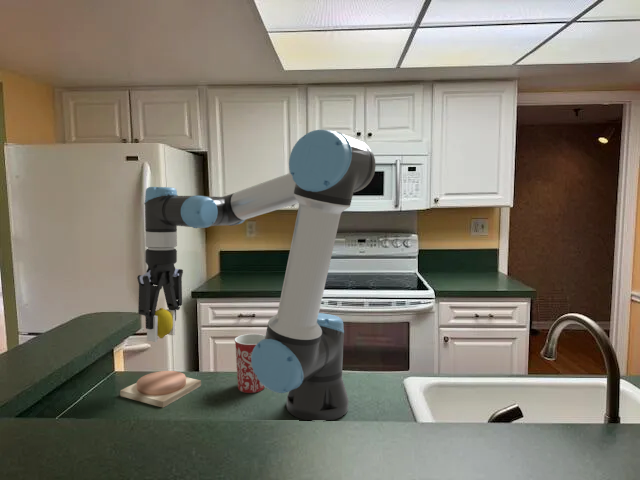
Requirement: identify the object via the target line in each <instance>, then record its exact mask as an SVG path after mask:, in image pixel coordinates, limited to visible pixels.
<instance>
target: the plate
mask: <svg viewBox="0 0 640 480" xmlns="http://www.w3.org/2000/svg"><path fill="white" fill-rule="evenodd" d="M201 386H202V380H201V379H196V378H191V377H187V376H186V374H185V373H183V372H180V371H176V370H160V371H154V372H151V373H147V374H145V375H143V376H141V377H140V378H138V379H137V381H136V383H133V384H131V385H128V386H126V387H124V388H122V389H120V392H119V396H120V397H121V398H127V399H130V400H134V401H137V402H141V403H143V404H144V403H145V404H148V405H152V406H155V407H160V408H163V409H164V408H165V407H167V406H169V405H171V404H172V403H174V402H176V401H177V400H179V399H181V398H182V397H184V396H187V394H189V393H191V392H193V391H195V390H196V389H198V388H200V387H201Z"/></svg>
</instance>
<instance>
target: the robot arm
mask: <svg viewBox="0 0 640 480" xmlns="http://www.w3.org/2000/svg"><path fill="white" fill-rule="evenodd" d="M376 165H377V164H376V158H375V155H374V153H373V151H372V150H371V148H370V147H369V146H368V145H367V144H366V142H364V141H362V140H360V139H357V138H355V137H351V136H349V135H347V134H344V133H342V132H339V131H335V130H328V129H316V130H311V131H309V132H308V133H305V134H304V135H303V136H302V137H300V138H299V139H298V140H297V141H296V143H295V144H294V146H293V147H292V149H291V152H290V154H289V159H288V170H289V173H287V174H283V175H280V176H278V177H275V178H272V179H269V180H267V181H264V182H263V181H262V182H260V183H258V184H256V185H252V186H250V187H247V188H244V189H241V190H238V191H236V192H233V193H230V194H227V195H225V196H209V195H208V196H206V195H178V191H177V188H175V187H169V186H168V187H167V186H148V187H147V188H146V189H145V193H144V194H145V195H144V221H145V222H144V225H145V226H144V229H145V231H144V233H145V236H144V237H145V243H144V244H145V247H146V250H145V260H144V261H145V263H146V265H147V269H146V272H145V273H144V274H142V275H141V274H138V275H137V277H136V278H137V281H138V310H137V311H138V313H137V314H138V315H139V316H140V315H141V316H144V317H145V330H146V341H147V342H152V343H157V342H158V316H155V312H156V311H157V305H158V301H159V297H160V296H159V295H160V291H161V290H162V289H163V293H164V298H165V303H166V307H167V308H166V309H165V310H167V311H169V312H170V313H171V315H172V319H173V327H172V330H171V331H170V333H169V334H167V336H168V335H169V336H175V335H176V321H177V311H179V310H180V308H181V306H183V286H182V279H183V273H184V270H183V269H181V268H176V266H175V264H176V263H177V261H178V255H177V254H178V253H177V252H178V250H177V248H176V247H177V246H178V232H177V231H178V227H187V228H193V229H203V228H204V229H205V228H206V229H207V228H209V227H214V226H216V227H217V226H237V225H241V224H243V223H245V221H246V220H249V219H251V218H252V219H253V218H255V217H258V216H261V215H264V214H268V213H271V212H274V211H277V210H280V209H284V208H287V207H291V206H294V205H297V204H298V209H297V214H296V219H295V224H294V230H293V234H292V238H291V239H292V240H291V244H290V249H289V254H288V259H287V264H286V268H285V269H286V270H285V274H284V279H283V284H282V289H281V294H280V300H279V304H278V309H277V313H276V314H275V315H273V316H272V317H270V318H269V319H268V322H267V327H266V331H265V332H266V333H265V339H263V340H261V341H260V342H258V344H257V345H256V346H255V347H254V349H253V351H252V355H251V363H252V368H253V371H254V373H255V374H256V375H257V377H258V380H259V381H260V382H261V383H262V385H264V386H265V389H267V390H269V391H272V392H273V393H277V394H285V393H287V396H286V410H287V411H288V412H289V414H291V415H292V416H293V417H295V418H297V419H299V420H303V421H307V420H331V421H334V420H338V419H340V418H342V417H343V415H344V416H345V415H346V414H347V413H348V411H349V402H350V401H349V396H348V393H347V389H346V387H345V383H344V380H343V361H344V360H343V358H344V337H345V330H344V320H343V319H342V317H339V316H338V315H334V314H329V313H322V312H320V309H321V306H322V305H321V304H322V299H323V297H324V296H323V295H324V291H325V287H326V282H327V277H328V273H329V268H330V265H331V264H330V263H331V260H332V255H333V250H334V246H335V241H336V237H337V232H338V228H339V223H340V221H341V220H340V219H341V215H342V213H343V212H344V211H345V210H347V209H349V208H350V207H351V204H352V200H353V196H354V193H356V192H359V191H362V190H363V189H364V188H366V187H367V186H368V185H369V184H370V183H371V181H372V179H373V178H374V176H375V172H376Z"/></svg>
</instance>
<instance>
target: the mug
mask: <svg viewBox="0 0 640 480" xmlns="http://www.w3.org/2000/svg"><path fill="white" fill-rule="evenodd" d="M265 336H266V334H265V335H264V334H260V333H246V334H240V335H239V336H236V337H235V338H234V343H235V356H236V358H235V362H236V377H237V389H238V391H240V392H242V393H245V394H255V393H258V392H261V391H263V390H264V389H266V387H265V386H264V385H262V383H261V382H260V381H259V380H258V377H257V375H256V374H255V373H254V371H253V368H252V363H251V355H252V351H253V349H254V347H255V346H256V345H257V344H258V342H260V341H261V340H263V339H265Z"/></svg>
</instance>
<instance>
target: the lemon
mask: <svg viewBox="0 0 640 480" xmlns="http://www.w3.org/2000/svg"><path fill="white" fill-rule="evenodd" d="M155 316H158V337H159V339H163V338H165V336H168V334H169V333H170V331H171V330H172V327H173V319H172V315H171V313H170V312H169V311H167V310H166V309H165V308H163V307H161V308H160V307H159V309H156V312H155Z"/></svg>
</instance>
